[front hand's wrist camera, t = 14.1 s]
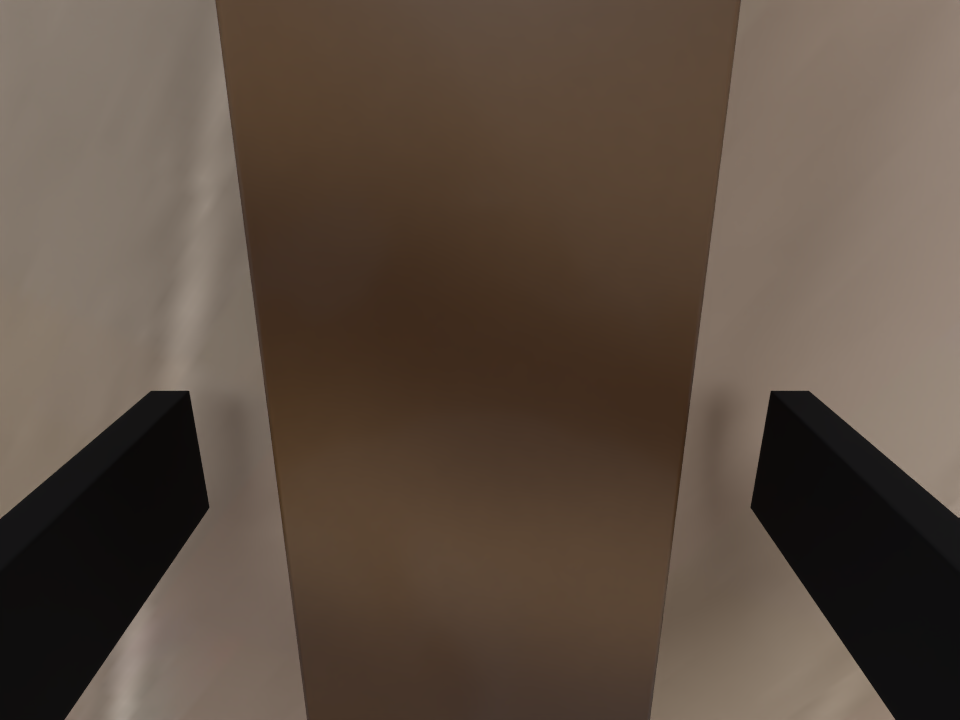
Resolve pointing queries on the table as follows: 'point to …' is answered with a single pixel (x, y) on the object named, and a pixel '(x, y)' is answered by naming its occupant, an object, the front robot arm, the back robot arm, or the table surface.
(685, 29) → the post
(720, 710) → the table surface
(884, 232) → the table surface
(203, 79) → the table surface
